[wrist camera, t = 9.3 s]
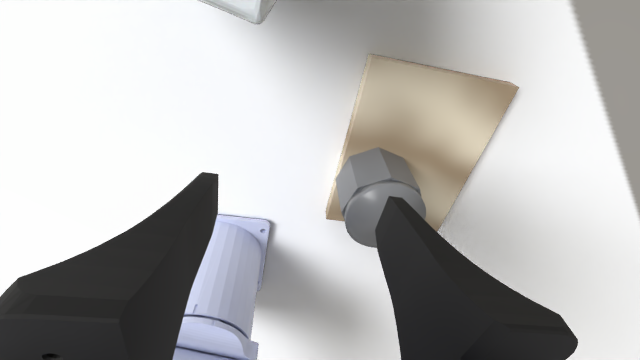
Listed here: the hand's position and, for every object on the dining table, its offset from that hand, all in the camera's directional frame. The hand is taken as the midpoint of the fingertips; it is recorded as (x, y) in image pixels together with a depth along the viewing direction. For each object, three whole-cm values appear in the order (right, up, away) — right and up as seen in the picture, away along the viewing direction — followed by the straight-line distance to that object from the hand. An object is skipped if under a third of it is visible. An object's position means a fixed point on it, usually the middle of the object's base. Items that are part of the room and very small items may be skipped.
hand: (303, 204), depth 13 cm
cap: (+5, +1, +10) cm, 12 cm away
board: (+7, +3, +11) cm, 13 cm away
